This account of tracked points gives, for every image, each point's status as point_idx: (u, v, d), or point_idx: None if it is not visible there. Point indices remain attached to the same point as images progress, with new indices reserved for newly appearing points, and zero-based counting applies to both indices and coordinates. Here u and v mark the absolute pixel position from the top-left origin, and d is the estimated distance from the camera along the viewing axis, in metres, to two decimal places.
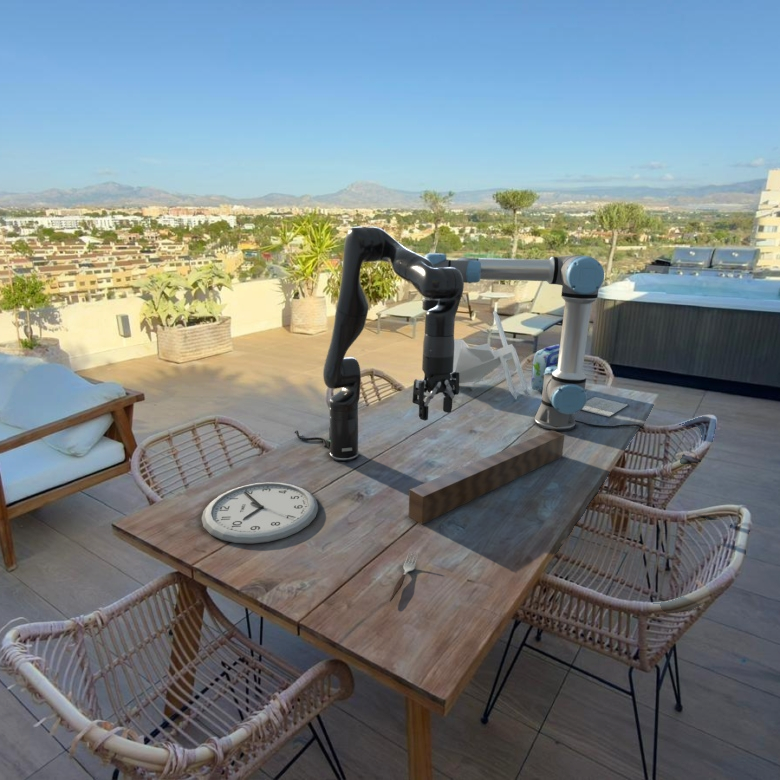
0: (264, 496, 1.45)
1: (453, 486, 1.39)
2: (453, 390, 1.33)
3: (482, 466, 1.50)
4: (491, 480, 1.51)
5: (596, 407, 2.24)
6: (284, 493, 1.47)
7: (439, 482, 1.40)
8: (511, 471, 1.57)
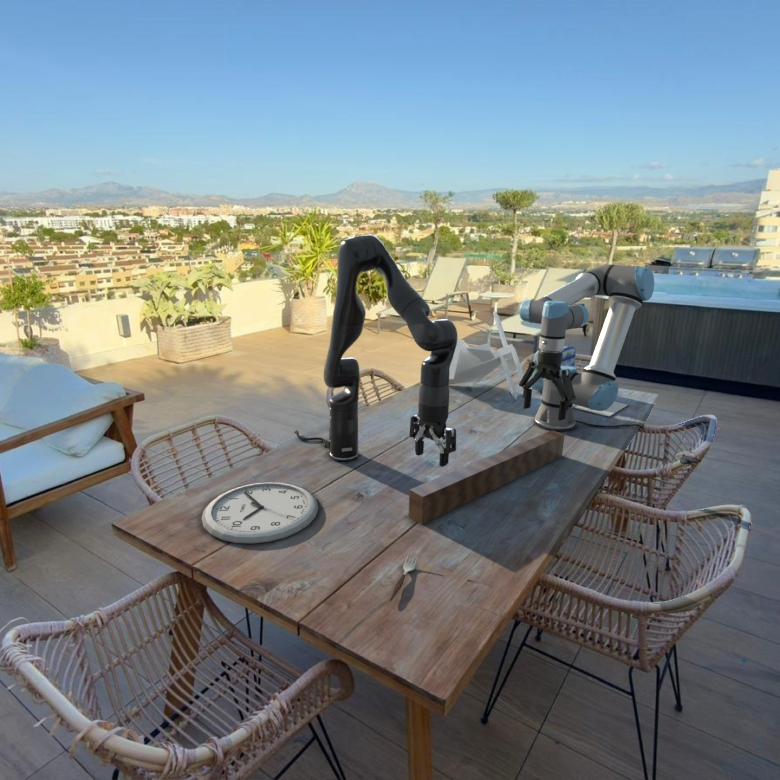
0: (264, 496, 1.45)
1: (453, 486, 1.39)
2: (416, 433, 1.37)
3: (482, 466, 1.50)
4: (491, 480, 1.51)
5: None
6: (284, 493, 1.47)
7: (439, 482, 1.40)
8: (511, 471, 1.57)
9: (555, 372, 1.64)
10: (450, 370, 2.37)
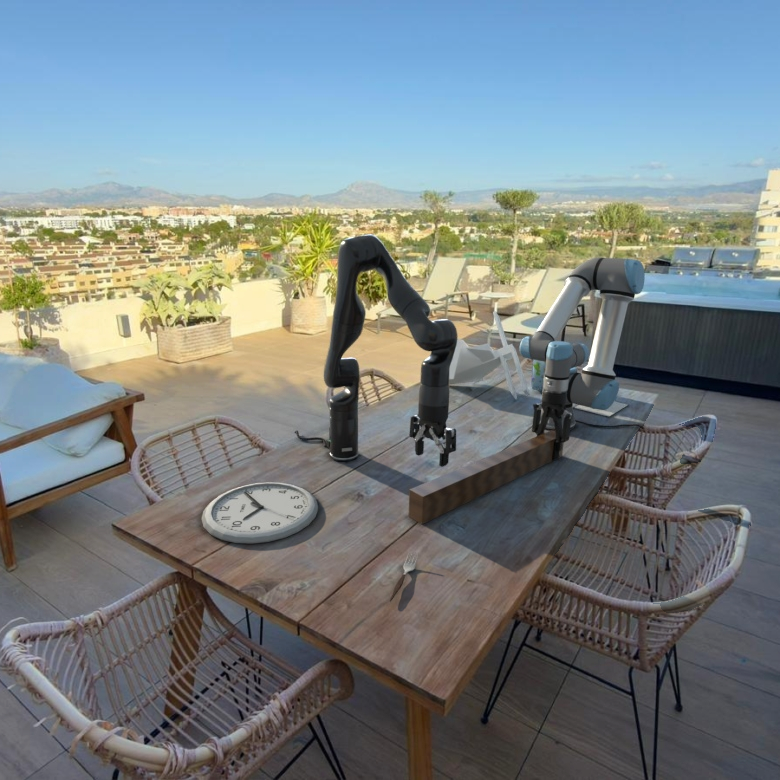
0: (264, 496, 1.45)
1: (453, 485, 1.39)
2: (416, 433, 1.37)
3: (482, 466, 1.50)
4: (491, 480, 1.51)
5: None
6: (284, 493, 1.47)
7: (439, 482, 1.40)
8: (511, 471, 1.57)
9: (560, 411, 1.67)
10: (450, 370, 2.37)
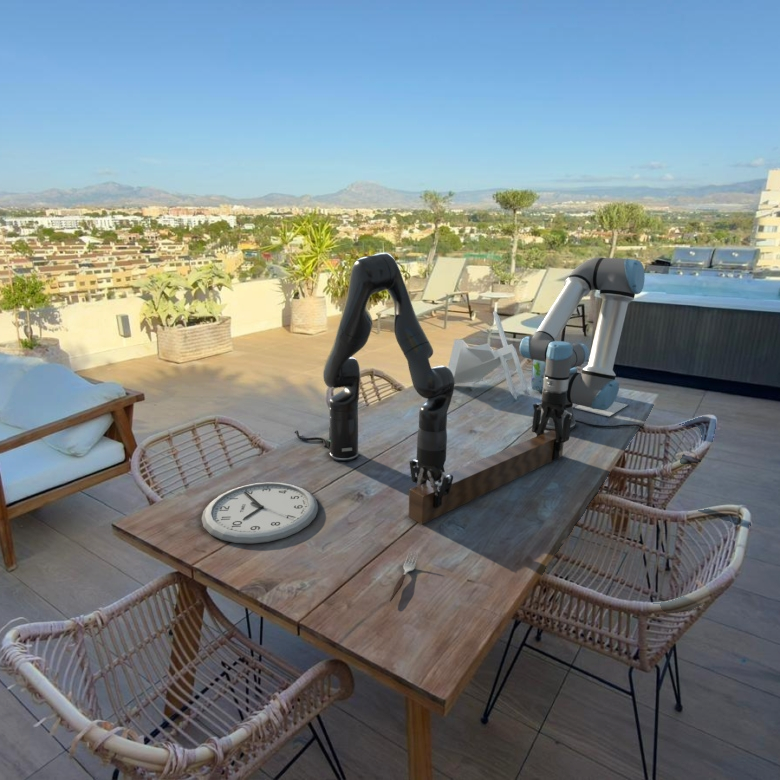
0: (264, 496, 1.45)
1: (453, 485, 1.39)
2: (418, 477, 1.40)
3: (482, 466, 1.50)
4: (491, 480, 1.51)
5: None
6: (284, 493, 1.47)
7: None
8: (511, 471, 1.57)
9: (560, 411, 1.67)
10: None
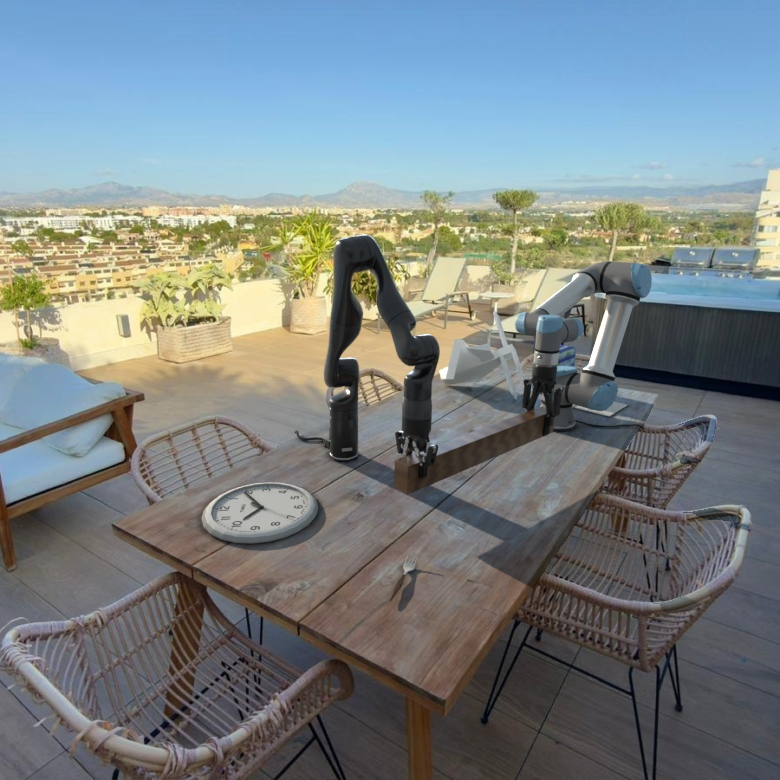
0: (264, 496, 1.45)
1: (439, 457, 1.38)
2: None
3: (469, 439, 1.48)
4: (478, 454, 1.50)
5: None
6: (284, 493, 1.47)
7: None
8: (499, 445, 1.56)
9: (550, 386, 1.65)
10: (450, 370, 2.37)
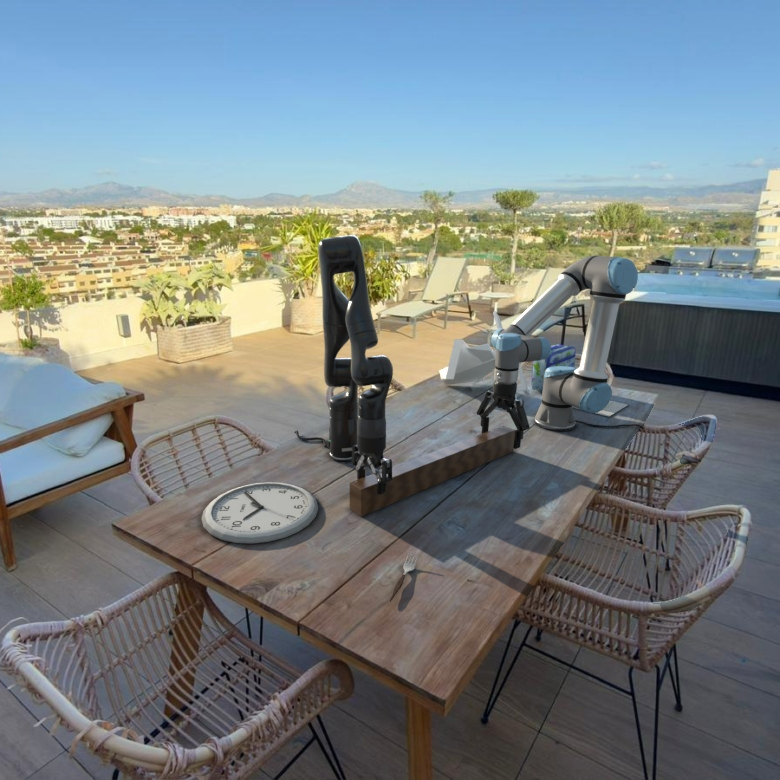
0: (264, 496, 1.45)
1: (393, 479, 1.42)
2: (358, 461, 1.44)
3: (426, 460, 1.53)
4: (435, 474, 1.54)
5: None
6: (284, 493, 1.47)
7: (381, 475, 1.43)
8: (457, 465, 1.60)
9: (510, 402, 1.69)
10: (450, 370, 2.37)
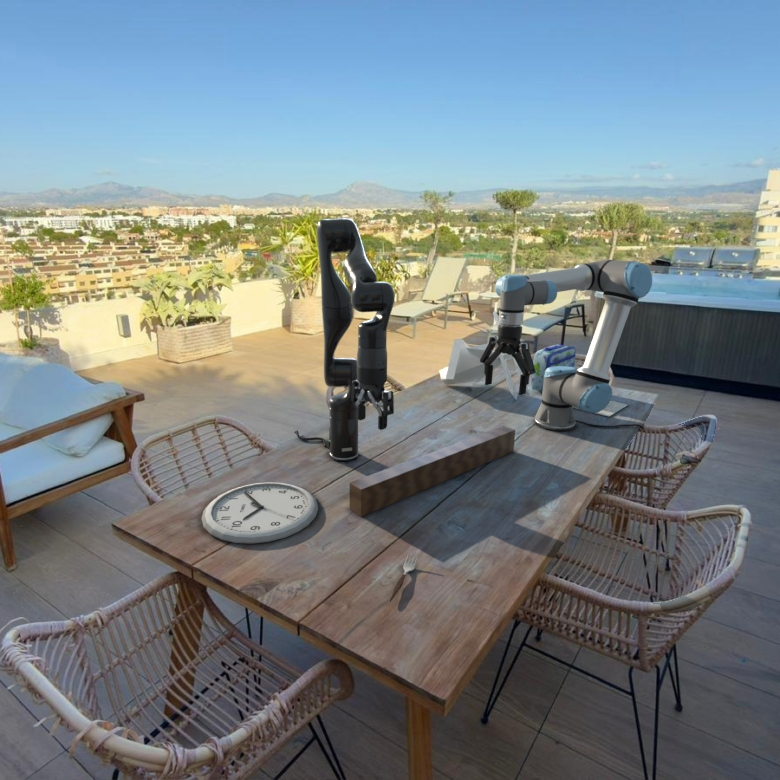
0: (264, 496, 1.45)
1: (393, 479, 1.42)
2: None
3: (426, 460, 1.53)
4: (435, 474, 1.54)
5: None
6: (284, 493, 1.47)
7: (381, 475, 1.43)
8: (457, 465, 1.60)
9: (515, 346, 1.64)
10: (450, 370, 2.37)
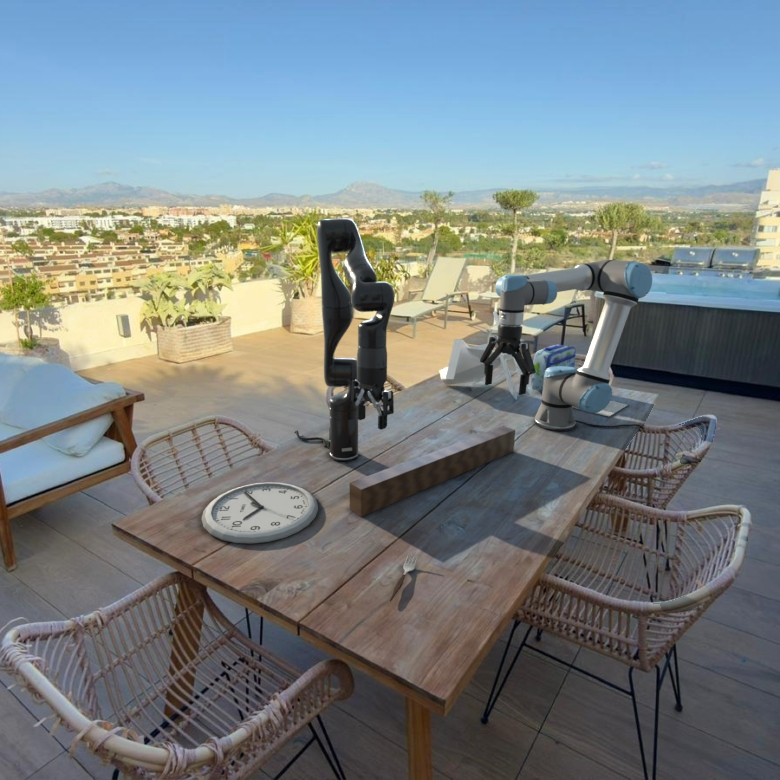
0: (264, 496, 1.45)
1: (393, 479, 1.42)
2: None
3: (426, 460, 1.53)
4: (435, 474, 1.54)
5: None
6: (284, 493, 1.47)
7: (381, 475, 1.43)
8: (457, 465, 1.60)
9: (515, 346, 1.64)
10: (450, 370, 2.37)
